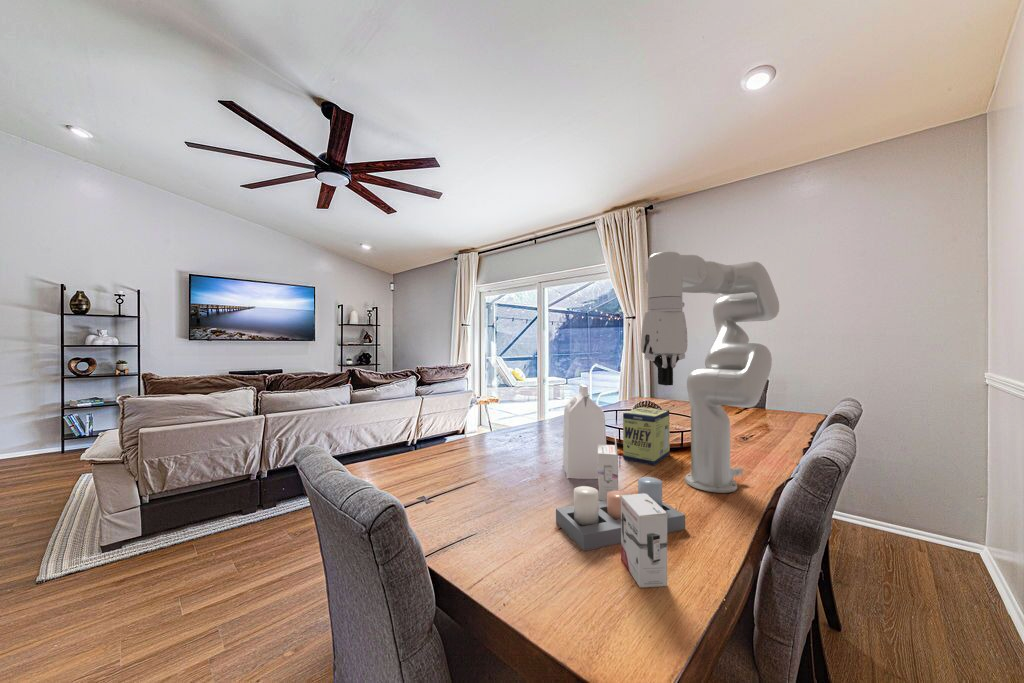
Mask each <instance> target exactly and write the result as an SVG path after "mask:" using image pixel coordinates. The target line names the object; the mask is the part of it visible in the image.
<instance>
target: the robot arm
mask: <svg viewBox="0 0 1024 683" xmlns="http://www.w3.org/2000/svg"><path fill="white" fill-rule="evenodd" d="M644 275H645V282H646V285H647V312H645V313H644V315H643V320H642V327H641V333H640V351H641V353H642V354H644V360H647V361H649V362H650V361H651V362H652V363H653V364H654V366H655V368H657V384H658V385H659V386H666V387H667V386H673V385H674V369H675V368H676V366H677V363H678V362H679V361H682V360H684V359H686V352H687V351H688V328H687V322H686V320H687V319H686V317H685V311H683V308H684V307H685V302H683V293H688V294H689V293H691V294H709V295H719V296H722V297H719V298H718V299H717V300H715V302H714V304H713V306H712V314H713V315H712V316H713V321H714V326H715V330H716V336H715V338H714V340H713V343H712V344H711V345H710V348H709V350H708V351H707V354H706V356H705V359H704V366H705V368H704V367H703V368H697V369H695V370H692V371H691V372H689V375H687V379H686V389H687V390H686V391H687V395H688V400H689V408H690V462H691V463H690V464H691V465H690V468H691V470H690V473H687V474H686V475H685V477H684V481H685V483H686V484H687V485H689V486H691V487H692V488H695V489H697V490H701V491H704V492H709V493H716V494H717V493H718V494H726V493H727V494H728V493H732V492H733V493H734V492H736V491H737V490H738V483H737V481H735V480H734V478H735V476H742V475H743V474H744V472H743V471H744V470H743V469H742V467H735V468H734V467H731V421H730V418H729V417H730V416H728V414H727V412H726V411H725V410H724V408H723V406H728V407H735V408H744V409H745V408H747V409H748V408H753V407H755V406H756V405H757V404H758V403H759V402H760V400H761V397H762V394H763V392H764V390H765V387H766V384H767V381H768V378H769V376H770V373H771V370H772V365H773V364H772V363H773V362H772V361H773V359H772V354H771V350H770V349H769V348H768V347H767V345H764V344H761V343H757V342H755V343H754V342H750V338H749V336H748V334H747V332H746V331H745V330H744V329H743V328H742V327H741V326H740V325H738V324H737V323H743V322H744V323H745V322H751V323H752V322H768V321H772V320H774V319H775V318H776V317H777V316H778V315H779V312H780V301H779V298H778V296H777V291H776V290H775V288H774V284H773V281H772V279H771V276H770V274H769V273H768V270H767V269H766V267H765V266H764V265H763V264H762V263H760V262H759V261H747V262H741V263H736V264H723V263H719V262H715V261H711V260H705V259H704V258H703V257H701V256H699V255H697V254H680V253H679V252H676V251H660V252H656V253H653V254H651V255H649V257H648V259H647V268H646V270H645V274H644Z"/></svg>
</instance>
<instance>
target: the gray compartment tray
mask: <svg viewBox="0 0 1024 683" xmlns="http://www.w3.org/2000/svg"><path fill="white" fill-rule="evenodd" d="M598 502H599V522H598V523H597V524H592V525H587V526H584V525H580V524H578V523H576V522H575V521H574V504H573V505H569V506H563V507H562V506H561V507H556V508H555V523H556V524H558V526H559V527H560V528H561V529H562V530H563V531H564V533H565V534H567V535H568V536H569V537H570V538H571V540H572V541H574V542H575V543H576V544H577V546H578V547H580V548H581V550H583V552H585V551H590V550H596V549H599V548H605V547H610V546H614V545H620V544H621V519H619V520H615V519H613V518H612V517H611V516H609V515H608V514H607V500H598ZM662 508H663V510H665V511H666V514H667V534H669V533H674V532H679V531H683V530H686V514H685V513H682V512H681V511H679V510H677V509H676V508H674V507H673V506H671V505H669V504H667V503H665V502H663V501H662Z"/></svg>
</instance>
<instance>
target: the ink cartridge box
mask: <svg viewBox="0 0 1024 683" xmlns="http://www.w3.org/2000/svg"><path fill="white" fill-rule="evenodd" d="M613 437H614V444H606V445H599V444H598V449H597V455H598V479H597V482H598V483H597V484H598V486H597V487H598V501H603V500H607V493H608V492H610V491H619V454H618V453H619V451H618V445H617V438H616V437H617V436H616V434H614V435H613Z"/></svg>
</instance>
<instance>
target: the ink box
mask: <svg viewBox="0 0 1024 683" xmlns="http://www.w3.org/2000/svg"><path fill="white" fill-rule="evenodd" d="M629 494H630V493H629ZM620 559H621V560H622V562H623V564H624V565H625V566H626V568H627V570H628V571H629V573H630V574H631V576H632V577H633V579H634V581H635V582H636V584H637V586H638V587H639V588H656V587H667V586H668V533H667V514H666V511H665V510H663V508H661V507H660V506H659V505H658V504H657V503H656V502H655V501H654V500H653V499H652V498H651V497H649V495H648V494H644V493H642V494H638V493H632V494H630V495H621V543H620Z"/></svg>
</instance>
